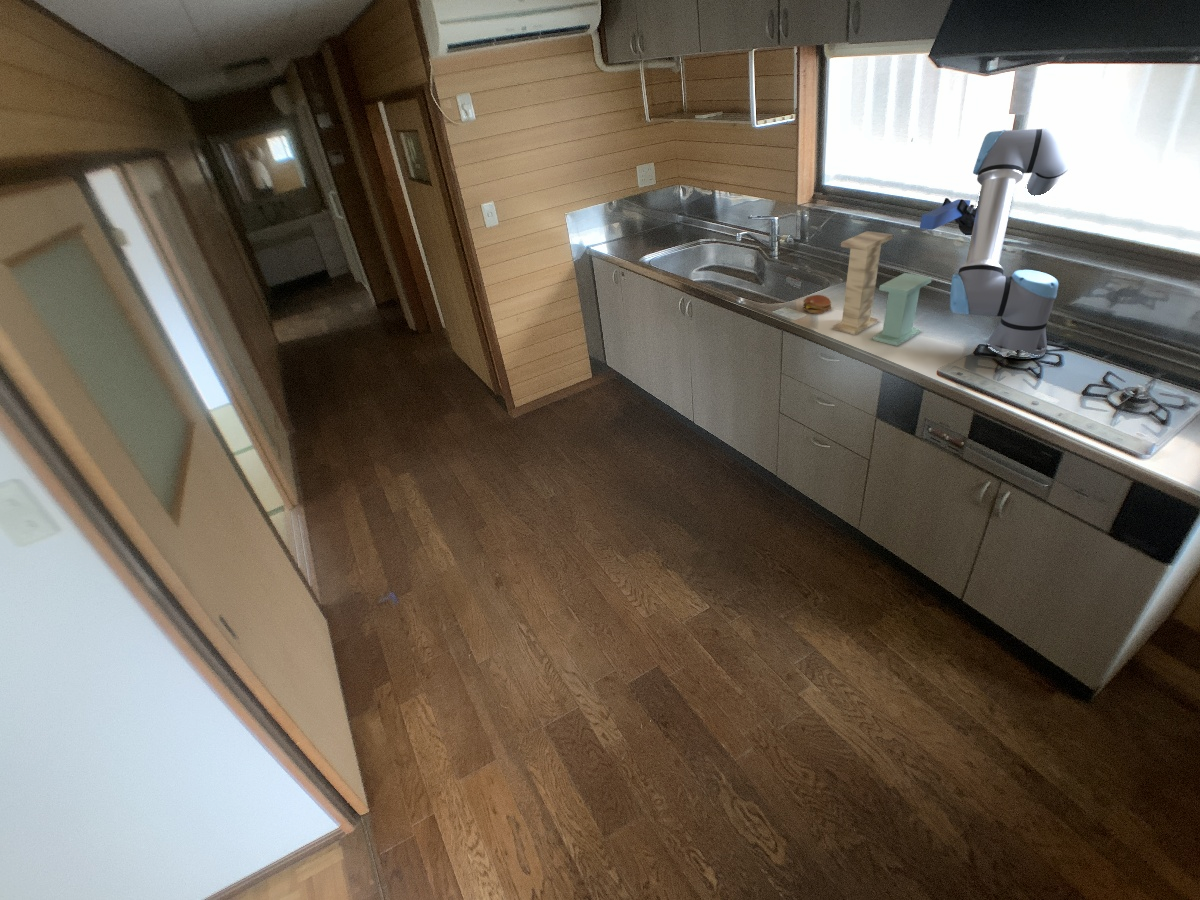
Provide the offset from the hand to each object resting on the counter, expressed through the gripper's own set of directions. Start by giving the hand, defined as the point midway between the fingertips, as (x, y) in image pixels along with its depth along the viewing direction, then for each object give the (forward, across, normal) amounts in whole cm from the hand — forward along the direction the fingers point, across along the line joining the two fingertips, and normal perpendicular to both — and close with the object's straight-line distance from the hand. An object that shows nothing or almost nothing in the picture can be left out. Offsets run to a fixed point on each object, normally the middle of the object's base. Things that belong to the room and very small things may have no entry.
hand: (952, 203), depth 194 cm
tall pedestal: (+1, +14, -44) cm, 46 cm away
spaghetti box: (+1, 0, -6) cm, 6 cm away
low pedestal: (+1, 0, -44) cm, 44 cm away
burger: (-3, +34, -42) cm, 54 cm away
